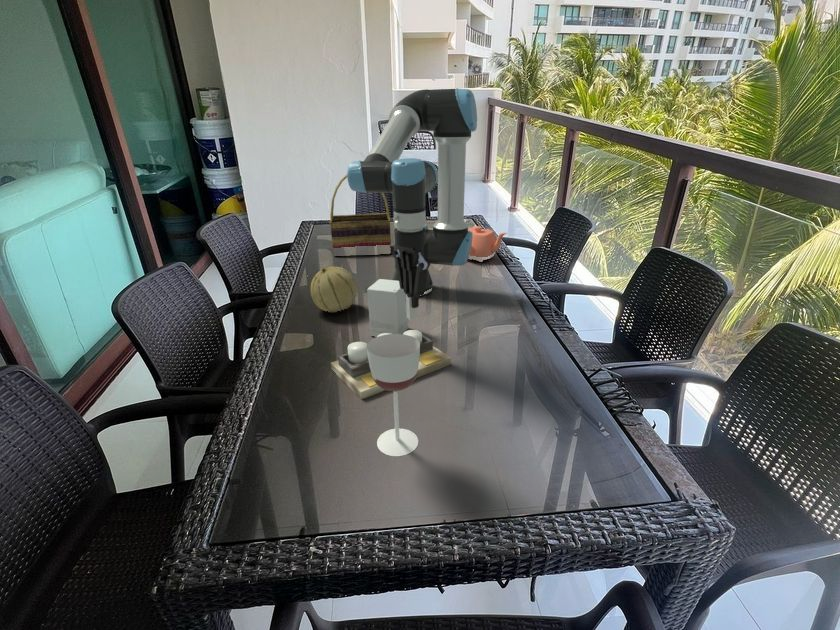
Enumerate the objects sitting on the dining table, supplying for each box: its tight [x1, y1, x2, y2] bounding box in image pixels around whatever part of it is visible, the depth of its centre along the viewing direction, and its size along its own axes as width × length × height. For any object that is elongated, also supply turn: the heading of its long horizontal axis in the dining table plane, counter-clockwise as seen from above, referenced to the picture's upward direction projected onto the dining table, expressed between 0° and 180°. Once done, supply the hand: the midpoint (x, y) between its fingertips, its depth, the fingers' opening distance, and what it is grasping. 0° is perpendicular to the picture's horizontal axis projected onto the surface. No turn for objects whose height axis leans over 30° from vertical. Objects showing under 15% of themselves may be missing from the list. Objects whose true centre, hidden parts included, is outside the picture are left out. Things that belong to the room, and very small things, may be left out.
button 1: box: [347, 341, 368, 364], centre depth 113 cm, size 5×5×4 cm
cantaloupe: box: [310, 266, 358, 313], centre depth 147 cm, size 15×15×15 cm
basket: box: [328, 174, 392, 249], centre depth 202 cm, size 26×15×35 cm, turn 97°
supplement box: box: [366, 278, 410, 337], centre depth 133 cm, size 9×9×15 cm
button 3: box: [403, 329, 423, 344], centre depth 122 cm, size 5×5×4 cm
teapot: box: [468, 225, 508, 257], centre depth 194 cm, size 18×18×14 cm
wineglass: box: [367, 334, 420, 457], centre depth 87 cm, size 9×10×22 cm
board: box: [330, 334, 452, 400], centre depth 117 cm, size 16×26×4 cm, turn 125°
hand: (412, 317), depth 119 cm, fingers closed
